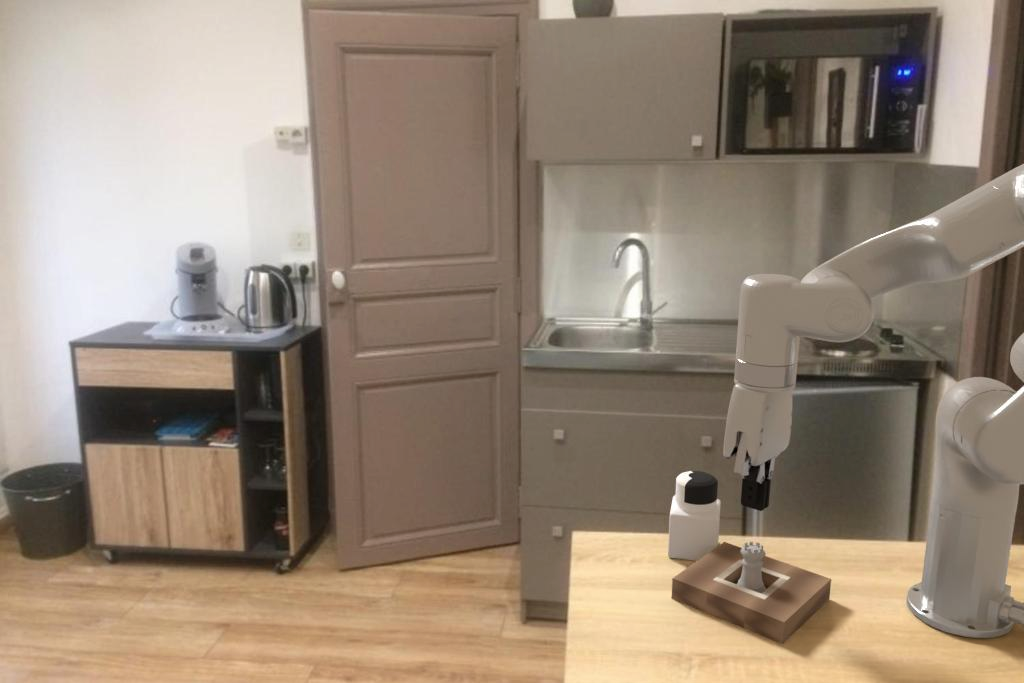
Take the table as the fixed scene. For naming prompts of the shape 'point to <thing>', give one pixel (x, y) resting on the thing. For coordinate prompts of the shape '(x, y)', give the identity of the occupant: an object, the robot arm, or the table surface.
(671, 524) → the medicine bottle
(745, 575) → the rook chess piece
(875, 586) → the table surface
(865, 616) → the table surface
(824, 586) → the board
